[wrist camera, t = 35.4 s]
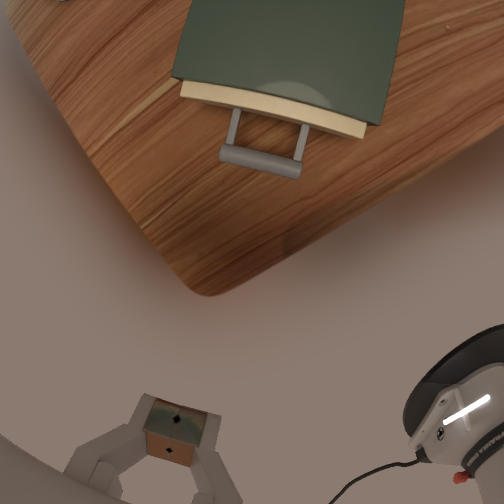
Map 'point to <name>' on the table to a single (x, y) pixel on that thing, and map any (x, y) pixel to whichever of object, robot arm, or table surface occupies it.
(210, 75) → the cabinet
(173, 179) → the table surface
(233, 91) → the drawer
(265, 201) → the table surface
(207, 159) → the table surface
